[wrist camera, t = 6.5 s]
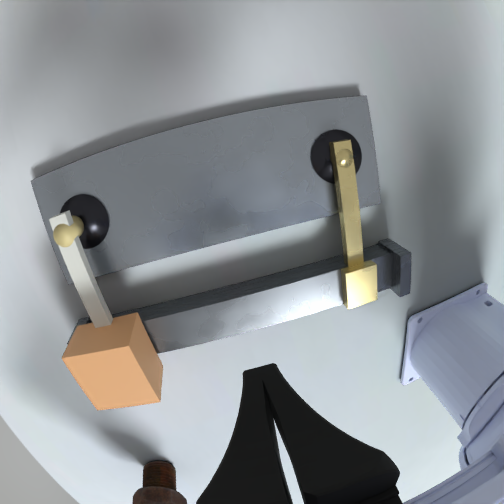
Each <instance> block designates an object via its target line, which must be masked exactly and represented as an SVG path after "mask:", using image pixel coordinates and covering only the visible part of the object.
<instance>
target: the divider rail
mask: <svg viewBox="0 0 504 504" xmlns="http://www.w3.org/2000/svg"><path fill="white" fill-rule="evenodd" d="M329 147H330V160H331V162H332V165H333V172H334V179H335V186H336V193H337V201H338V208H339V217H340V225H341V234H342V244H343V254H344V255H340V256H337V257H333V258H330V259H326V260H323V261H319V262H316V263H312V264H308V265H305V266H301V267H298V268H294V269H290V270H287V271H283V272H279V273H276V274H272V275H268V276H265V277H261V278H257V279H253V280H250V281H246V282H242V283H238V284H235V285H231V286H227V287H223V288H219V289H215V290H211V291H208V292H204V293H200V294H196V295H192V296H188V297H184V298H180V299H176V300H172V301H168V302H164V303H160V304H156V305H152V306H147V307H143V308H139V309H135V310H131V311H127V312H122V313H118V314H114V315H112V317H113V318H115V317H119V316H123V315H128V314H132V313H136V312H138V314H139V316H140V319H141V321H142V323H143V325H144V328H145V330H146V332H147V334H148V336H149V338H150V340H151V342H152V345H153V347H154V349H155V351H156V353H162V352H167V351H171V350H176V349H181V348H185V347H189V346H194V345H198V344H202V343H206V342H211V341H215V340H219V339H223V338H227V337H231V336H235V335H239V334H242V333H246V332H250V331H254V330H257V329H261V328H265V327H268V326H272V325H275V324H279V323H282V322H286V321H289V320H293V319H296V318H300V317H303V316H306V315H310V314H313V313H316V312H319V311H323V310H326V309H329V308H332V307H335V306H338V305H341V304H344V305H345V306H346V308H347V309H348V310H349V309H352V308H355V307H358V306H360V305H363V304H366V303H369V302H372V301H375V300H377V292H380V291H383V290H386V289H388V288H390V289H391V290H392V291H394V292H395V293H396V294H397V295H398V296H399V297H402V296H404V295H407V294H409V293H410V284H411V252H409V251H408V250H406V249H404V248H403V247H401V246H400V245H398V244H397V243H395V242H393V241H392V240H390V239H385V240H382V241H379V244H378V245H375V246H371V247H368V248H365V249H363V244H362V231H361V219H360V209H359V199H358V190H357V182H356V174H355V166H354V159H353V152H352V145H351V140H346V139H345V140H339V141H333V142H329ZM88 323H93V322H92V320H90V318H89V317H88V318H84V319H80V320H79V321H78V323H77V325H76V327H75V329H74V331H73V333H72V335H71V337H70V339H69V341H68V343H67V344H69V342H70V340H71V338H72V336H73V334H74V332H75V330H76V328H77V326H79V325H84V324H88Z"/></svg>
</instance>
